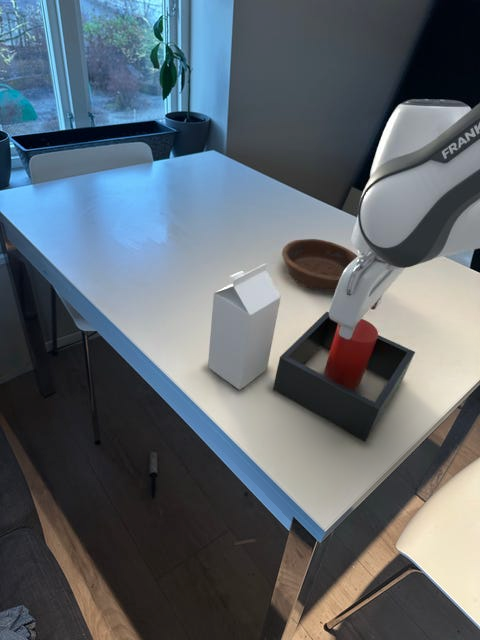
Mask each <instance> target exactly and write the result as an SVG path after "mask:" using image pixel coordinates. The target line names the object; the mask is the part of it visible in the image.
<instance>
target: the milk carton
mask: <svg viewBox="0 0 480 640" xmlns="http://www.w3.org/2000/svg"><path fill="white" fill-rule="evenodd" d="M267 265H268V262H267V263H262V264H261V265H259V266H257V267H255V268H253V269H251V270H248V271H247V272H244V271H243V270H242V271H238V272H236V273H233V274H232V275H230V276H229V280H230V282H231V284H228V285H227V286H224V287H223V288H221V289H219V290H217V291H215V292H213V297H212V298H213V299H212V310H211V322H210V323H211V325H210V335H209V349H208V361H207V368H208V369H209V370H211V371H212V372H214V373H215V374H216V375H217V376H219V377H220V378H222V379H223V380H225V381H226V382H228V384H230V385H231V386H233V387H234V388H235V389H237V390H239V391H240V390H242V389H243V388H245V387H246V386H247V385H249V384H250V383H251V382H253V381H254V380H255V379H256V378H258V377H259V376H261V375H262V374H263V373H264V372H266V371H267V370H268V367H269V360H270V356H271V350H272V346H273V345H272V344H273V340H274V334H275V330H276V323H277V319H278V315H279V308H280V304H281V298H282V296H281V294H280V292H279V290H278V288H277V287H276V285H275V283H274V282H273V281H274V280H272V278H271V275H270V274H269V273H268V271H267Z"/></svg>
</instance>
